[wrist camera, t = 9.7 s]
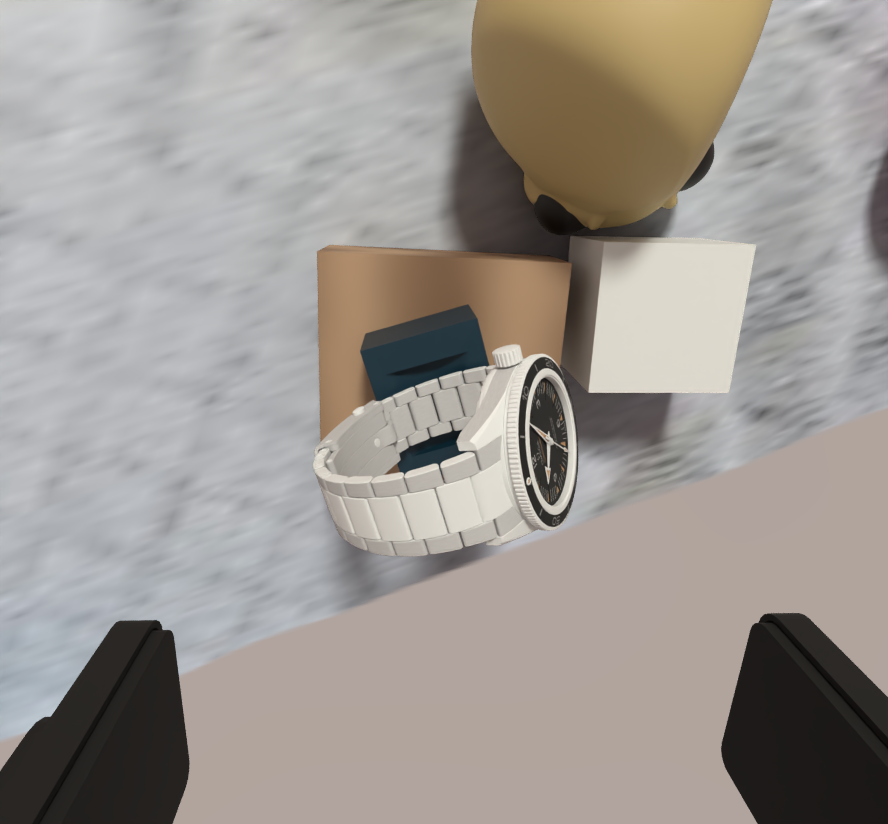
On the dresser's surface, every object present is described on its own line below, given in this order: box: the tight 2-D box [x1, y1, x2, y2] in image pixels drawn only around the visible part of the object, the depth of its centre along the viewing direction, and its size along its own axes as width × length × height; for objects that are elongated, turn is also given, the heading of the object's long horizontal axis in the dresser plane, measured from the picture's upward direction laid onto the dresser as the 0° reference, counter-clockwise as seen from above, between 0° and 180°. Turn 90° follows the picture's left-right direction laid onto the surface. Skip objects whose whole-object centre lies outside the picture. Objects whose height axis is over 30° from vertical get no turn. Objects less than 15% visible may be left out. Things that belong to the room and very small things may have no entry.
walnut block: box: [317, 245, 572, 480], centre depth 27 cm, size 10×10×4 cm
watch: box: [313, 304, 578, 556], centre depth 20 cm, size 6×8×11 cm
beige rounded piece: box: [471, 0, 773, 235], centre depth 21 cm, size 10×12×11 cm
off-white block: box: [560, 236, 756, 393], centre depth 26 cm, size 6×6×5 cm
